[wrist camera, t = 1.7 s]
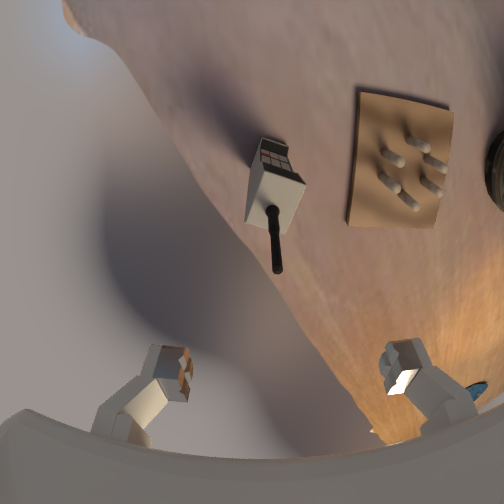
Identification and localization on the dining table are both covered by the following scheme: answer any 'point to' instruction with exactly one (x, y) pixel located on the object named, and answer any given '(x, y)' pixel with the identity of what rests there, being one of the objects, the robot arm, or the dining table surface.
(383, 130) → the pin dock
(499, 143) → the beer stein
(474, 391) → the decorative plate
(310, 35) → the dining table surface
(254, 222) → the vintage mobile phone
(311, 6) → the dining table surface
